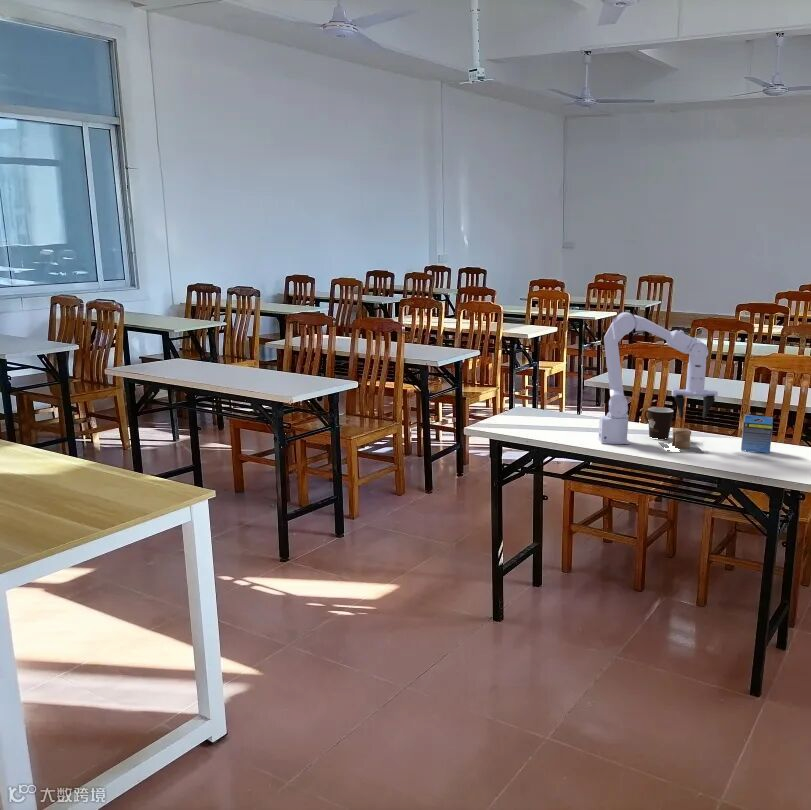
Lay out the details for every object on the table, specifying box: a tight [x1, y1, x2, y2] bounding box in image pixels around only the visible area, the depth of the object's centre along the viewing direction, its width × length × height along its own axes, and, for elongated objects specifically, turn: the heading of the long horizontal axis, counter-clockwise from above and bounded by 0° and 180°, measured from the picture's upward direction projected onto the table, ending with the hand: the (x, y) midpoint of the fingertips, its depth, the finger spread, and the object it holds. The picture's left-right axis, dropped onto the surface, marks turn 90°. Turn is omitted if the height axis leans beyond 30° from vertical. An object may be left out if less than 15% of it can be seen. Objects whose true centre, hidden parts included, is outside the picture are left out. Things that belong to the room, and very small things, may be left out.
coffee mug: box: [643, 407, 674, 439], centre depth 292 cm, size 12×9×10 cm
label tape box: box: [740, 414, 774, 454], centre depth 273 cm, size 9×4×12 cm, turn 68°
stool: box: [671, 427, 692, 449], centre depth 276 cm, size 5×4×6 cm
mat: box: [657, 441, 705, 454], centre depth 277 cm, size 12×12×1 cm
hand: (692, 417), depth 278 cm, fingers open, 7 cm apart
